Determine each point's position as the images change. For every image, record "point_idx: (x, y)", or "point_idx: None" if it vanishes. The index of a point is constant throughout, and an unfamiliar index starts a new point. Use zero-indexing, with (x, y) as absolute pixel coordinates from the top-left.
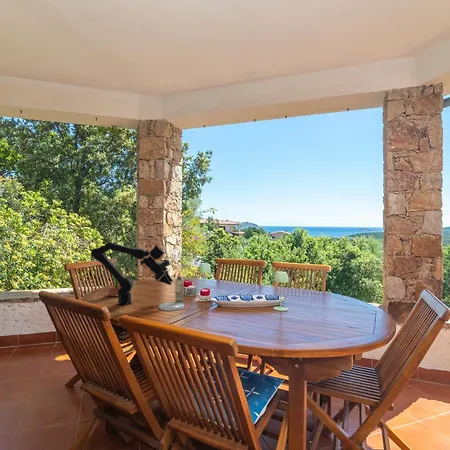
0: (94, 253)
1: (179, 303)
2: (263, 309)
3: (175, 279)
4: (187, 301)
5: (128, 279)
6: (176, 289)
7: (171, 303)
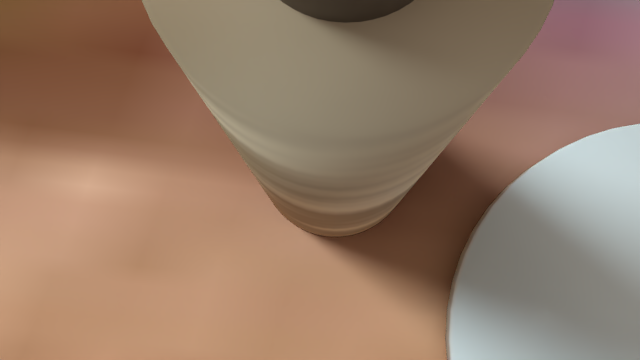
0: None
1: (576, 188)
2: None
3: (395, 124)
4: None
5: None
6: (415, 179)
7: (543, 333)
